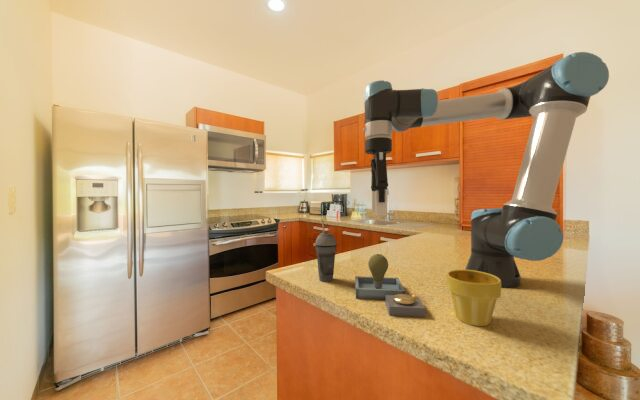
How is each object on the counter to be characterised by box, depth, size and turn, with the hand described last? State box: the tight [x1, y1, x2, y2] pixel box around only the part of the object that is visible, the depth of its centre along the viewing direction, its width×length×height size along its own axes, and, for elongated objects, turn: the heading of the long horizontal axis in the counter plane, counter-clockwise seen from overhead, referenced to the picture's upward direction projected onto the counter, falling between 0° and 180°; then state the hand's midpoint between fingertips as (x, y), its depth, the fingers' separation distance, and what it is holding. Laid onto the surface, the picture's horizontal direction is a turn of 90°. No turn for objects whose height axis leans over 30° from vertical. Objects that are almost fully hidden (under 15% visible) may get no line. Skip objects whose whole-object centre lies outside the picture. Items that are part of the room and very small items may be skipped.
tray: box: [354, 275, 407, 301], centre depth 74 cm, size 13×11×2 cm
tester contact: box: [393, 293, 415, 305], centre depth 62 cm, size 5×5×1 cm
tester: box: [384, 294, 426, 318], centre depth 62 cm, size 8×7×3 cm
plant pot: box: [446, 269, 502, 327], centre depth 57 cm, size 10×10×10 cm
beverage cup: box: [314, 218, 338, 283], centre depth 84 cm, size 7×7×20 cm
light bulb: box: [367, 253, 389, 289], centre depth 74 cm, size 6×6×10 cm
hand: (378, 213), depth 73 cm, fingers open, 13 cm apart
